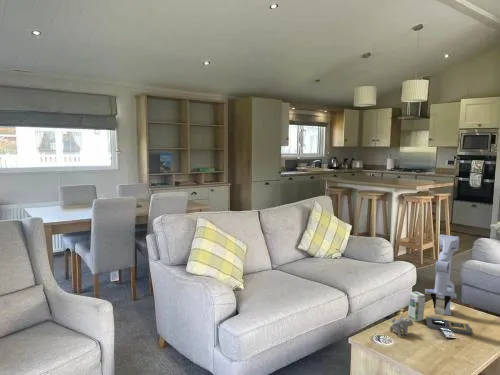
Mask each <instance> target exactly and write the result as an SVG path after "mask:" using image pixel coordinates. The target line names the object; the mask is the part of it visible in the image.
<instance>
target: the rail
mask: <svg viewBox="0 0 500 375" xmlns="http://www.w3.org/2000/svg"><path fill="white" fill-rule="evenodd" d="M434 321H442V322H444V324H445V326H444V324H443V325H442V324H441V325H440V324H436V323H435V322H434ZM425 322H426V327H427V328H428V329H434V330H439V329H440V328H447V329H449V330H451V331H453V332H452V333H456V334H462V335H466V336H467V335H468V336H472V331H471V328H470V325H469V324H468V323H466V322H465V323H464V322H458V321H453V320H446V319H440V318H435V317H429V316H426V317H425Z"/></svg>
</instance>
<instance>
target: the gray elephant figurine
mask: <svg viewBox="0 0 500 375" xmlns="http://www.w3.org/2000/svg"><path fill="white" fill-rule="evenodd" d="M391 323H392V324H391V325H390V327H389V332H392V331H395V332H397V337H398V338H401V337H402V334H401V331H402V332H403V333H404V336H408V335H409V333H408V328H409V327H412V326H414V323H413V320H411V319H407V318H406V317H404V316H402V315H400V318H399V319H395V318H393V319H391Z"/></svg>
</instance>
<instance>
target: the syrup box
mask: <svg viewBox="0 0 500 375" xmlns="http://www.w3.org/2000/svg"><path fill="white" fill-rule="evenodd" d="M425 303H426V294H423V293H421V292H418V291H412V292H409V301H408V311H407V312H408V313H407V318H408V320H412V322H416V323H417V322H422V321H424V314H425V313H424V312H425Z"/></svg>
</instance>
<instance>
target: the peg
mask: <svg viewBox="0 0 500 375" xmlns="http://www.w3.org/2000/svg"><path fill="white" fill-rule="evenodd" d="M444 305H445V299H444V298H442V297H437V296H436V307H435V308H434V314H435V315H438V316H444V315H445V314H444Z"/></svg>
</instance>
